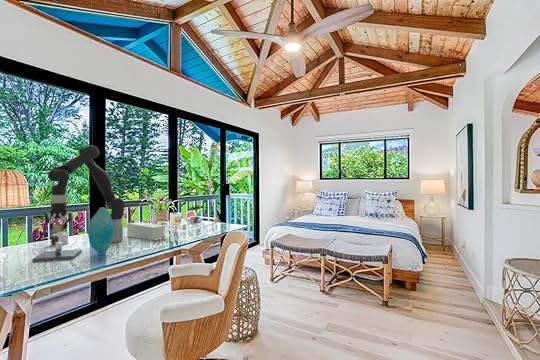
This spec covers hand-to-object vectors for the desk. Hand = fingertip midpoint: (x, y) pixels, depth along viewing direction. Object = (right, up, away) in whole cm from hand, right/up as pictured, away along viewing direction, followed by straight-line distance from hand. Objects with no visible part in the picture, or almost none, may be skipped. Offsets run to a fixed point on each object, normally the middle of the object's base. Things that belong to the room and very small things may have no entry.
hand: (58, 229), depth 172 cm
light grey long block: (+28, -17, +57) cm, 66 cm away
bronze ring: (0, -1, 0) cm, 1 cm away
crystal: (+22, -18, +7) cm, 29 cm away
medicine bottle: (-22, -16, +31) cm, 41 cm away
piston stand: (0, -17, 0) cm, 17 cm away
